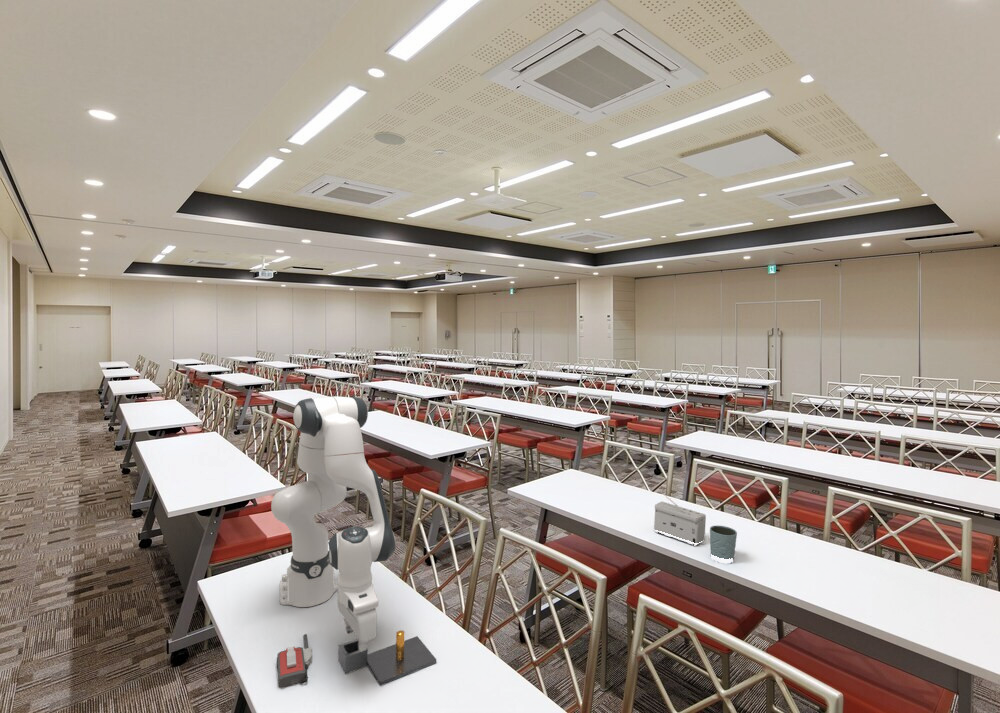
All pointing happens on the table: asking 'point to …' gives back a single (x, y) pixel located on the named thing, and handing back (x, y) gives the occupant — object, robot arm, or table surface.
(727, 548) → the grey green cup
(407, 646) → the base
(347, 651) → the hollow square tube
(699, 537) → the stereo radio cassette player
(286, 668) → the walkie-talkie
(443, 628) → the table surface
